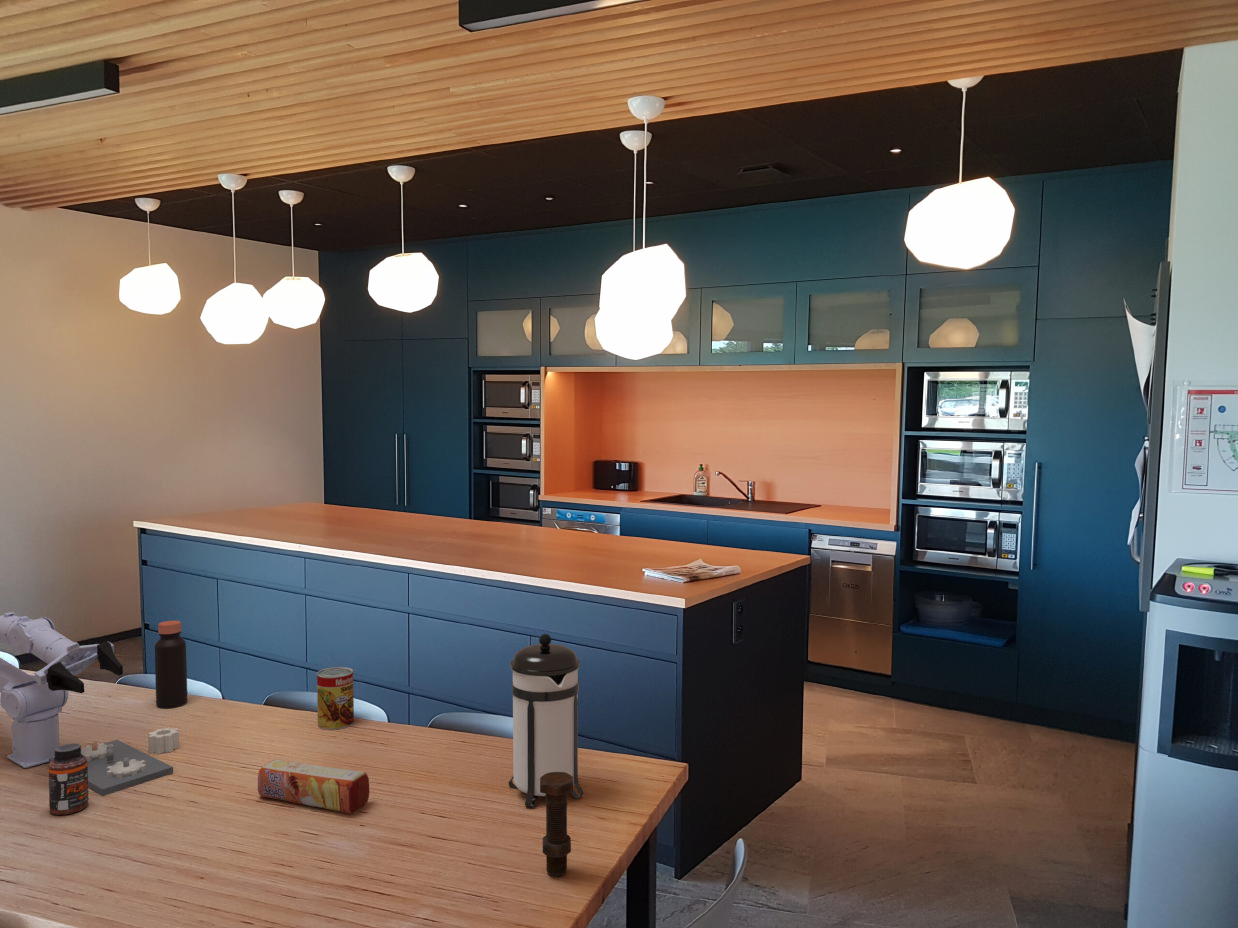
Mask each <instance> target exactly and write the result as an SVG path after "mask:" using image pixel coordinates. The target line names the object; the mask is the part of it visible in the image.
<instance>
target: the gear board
mask: <svg viewBox="0 0 1238 928" xmlns="http://www.w3.org/2000/svg"><path fill="white" fill-rule="evenodd" d="M81 754H82V755H84V756H85V757H86V758H87V766H88V789H90V790H92V791H94V792H96V793H98V794H99V795H101V796H106V795H111V794H112V793H115V792H118V791H122V790H125V789H127V788H132V787H133V786H137V785H139V784H143V783H146V782H149V781H152V780H155V779H158V778H162V777H165V776H167V775H170V774H174V766H172V765H170V764H169V763H166V762H164V761H162V760H160V759H158V758H156V757H154V756H153V755H150V754H147V753H146V752H144V751H142V750H139V749H137V748H135V747H133V746H131V745H129V744H127V743H125V742H123V741H121V740H120V739H113V740H110V741H106V742H104V743H99V744H98V741H92V742H91V745H87V746H86V745H85V746H84V747H83V748H81ZM54 758H55V757H53V758H49V762H48V765H49V764H50V762H51V761H52V760H54Z"/></svg>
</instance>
